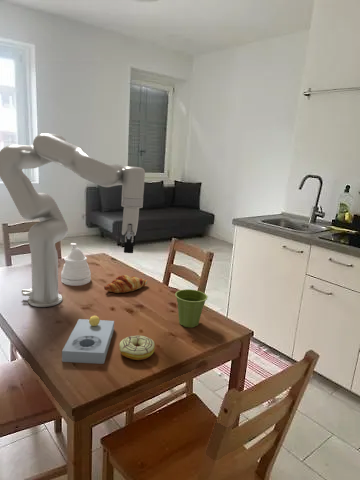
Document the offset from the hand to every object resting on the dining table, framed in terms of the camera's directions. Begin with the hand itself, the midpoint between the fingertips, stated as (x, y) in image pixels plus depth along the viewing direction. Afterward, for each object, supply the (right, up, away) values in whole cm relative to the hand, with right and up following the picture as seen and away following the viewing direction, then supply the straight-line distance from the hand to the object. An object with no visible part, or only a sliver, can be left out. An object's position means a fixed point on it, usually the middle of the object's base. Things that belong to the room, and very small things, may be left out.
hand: (129, 249), depth 129 cm
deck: (-10, -30, -17) cm, 36 cm away
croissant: (-4, -20, +26) cm, 33 cm away
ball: (-10, -25, -12) cm, 29 cm away
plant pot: (+22, -28, +3) cm, 35 cm away
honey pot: (-29, -16, +33) cm, 47 cm away
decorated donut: (+1, -31, -18) cm, 36 cm away
